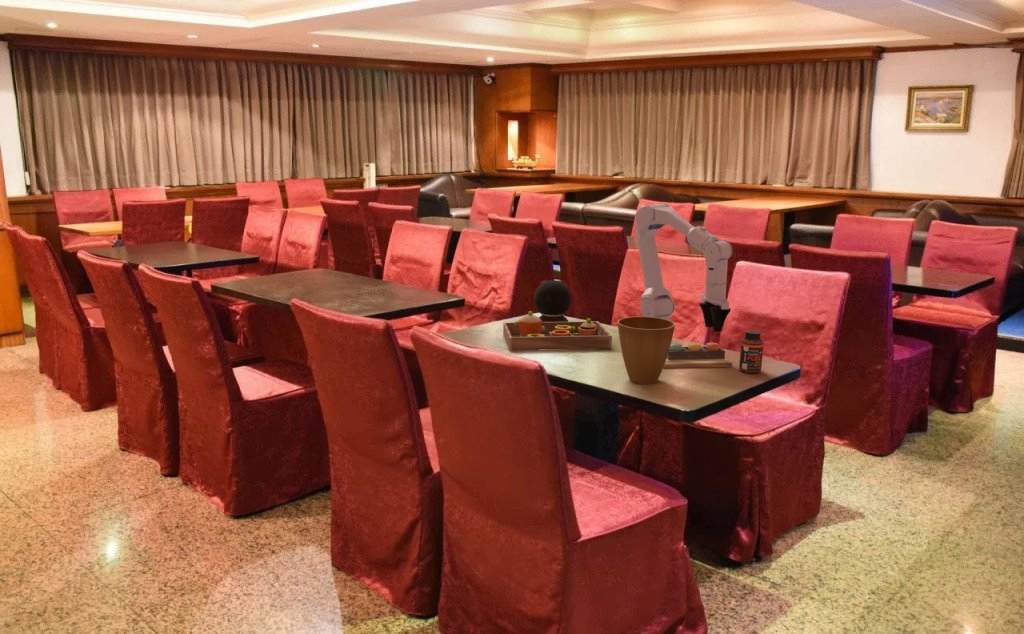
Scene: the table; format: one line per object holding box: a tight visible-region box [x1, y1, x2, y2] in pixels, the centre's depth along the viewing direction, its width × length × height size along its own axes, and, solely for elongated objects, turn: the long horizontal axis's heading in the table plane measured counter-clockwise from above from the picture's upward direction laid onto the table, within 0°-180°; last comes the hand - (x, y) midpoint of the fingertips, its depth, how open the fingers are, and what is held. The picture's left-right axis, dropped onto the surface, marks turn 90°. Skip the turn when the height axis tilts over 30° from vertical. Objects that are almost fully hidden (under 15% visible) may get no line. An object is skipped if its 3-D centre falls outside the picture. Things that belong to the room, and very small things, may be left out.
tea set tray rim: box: [502, 320, 613, 352], centre depth 267 cm, size 22×32×4 cm
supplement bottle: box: [739, 329, 764, 374], centre depth 233 cm, size 6×6×11 cm
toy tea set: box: [513, 310, 597, 337], centre depth 268 cm, size 26×16×10 cm, turn 113°
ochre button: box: [687, 342, 701, 351], centre depth 244 cm, size 4×4×2 cm
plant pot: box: [617, 315, 676, 385], centre depth 223 cm, size 15×15×16 cm
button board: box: [663, 345, 733, 369], centre depth 244 cm, size 14×20×4 cm
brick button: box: [705, 342, 720, 351], centre depth 244 cm, size 4×4×2 cm
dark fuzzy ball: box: [533, 279, 573, 322], centre depth 293 cm, size 13×13×15 cm
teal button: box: [669, 342, 683, 351], centre depth 243 cm, size 4×4×2 cm
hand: (713, 329), depth 243 cm, fingers open, 5 cm apart
